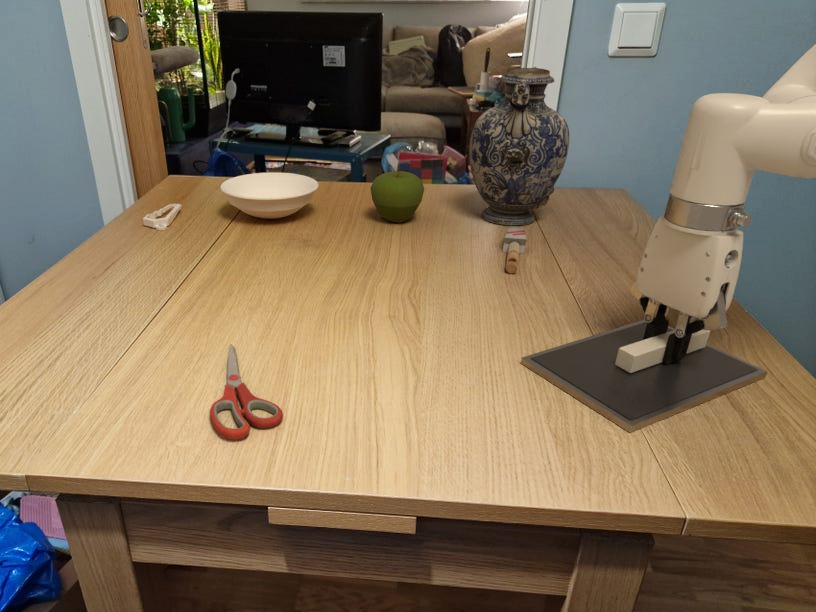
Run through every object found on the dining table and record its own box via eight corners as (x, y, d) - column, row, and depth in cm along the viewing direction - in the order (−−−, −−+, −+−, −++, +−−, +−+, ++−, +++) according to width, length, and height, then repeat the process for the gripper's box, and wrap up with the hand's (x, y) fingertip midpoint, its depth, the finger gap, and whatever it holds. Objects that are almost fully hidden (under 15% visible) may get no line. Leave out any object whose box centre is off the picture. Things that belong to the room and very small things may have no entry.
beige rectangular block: (689, 339, 87) (694, 323, 86) (705, 347, 85) (711, 330, 84) (614, 364, 81) (618, 347, 80) (630, 373, 79) (635, 356, 78)
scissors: (235, 345, 88) (234, 335, 87) (291, 429, 71) (290, 418, 71) (177, 356, 85) (176, 346, 85) (222, 447, 69) (220, 436, 68)
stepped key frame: (159, 210, 140) (158, 202, 139) (183, 210, 140) (182, 202, 139) (140, 230, 129) (138, 221, 128) (165, 230, 129) (164, 221, 128)
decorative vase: (551, 240, 124) (578, 79, 110) (453, 228, 130) (467, 74, 116) (559, 208, 141) (584, 65, 128) (472, 199, 147) (487, 62, 133)
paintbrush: (528, 220, 124) (523, 262, 108) (526, 234, 126) (521, 277, 109) (507, 218, 125) (499, 260, 109) (505, 232, 127) (497, 275, 110)
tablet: (649, 323, 94) (650, 316, 93) (765, 377, 81) (768, 370, 80) (520, 363, 84) (521, 356, 83) (629, 433, 71) (631, 425, 70)
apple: (376, 210, 140) (377, 162, 135) (425, 214, 138) (429, 165, 133) (364, 225, 131) (365, 175, 126) (417, 230, 129) (420, 179, 124)
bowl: (209, 227, 130) (206, 195, 127) (238, 199, 147) (236, 170, 144) (308, 233, 127) (308, 200, 124) (326, 203, 144) (326, 174, 141)
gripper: (793, 228, 70) (740, 377, 79) (663, 191, 82) (630, 324, 91) (749, 239, 67) (699, 393, 76) (621, 199, 79) (590, 336, 88)
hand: (661, 354), depth 83 cm, fingers closed on beige rectangular block, 2 cm apart
